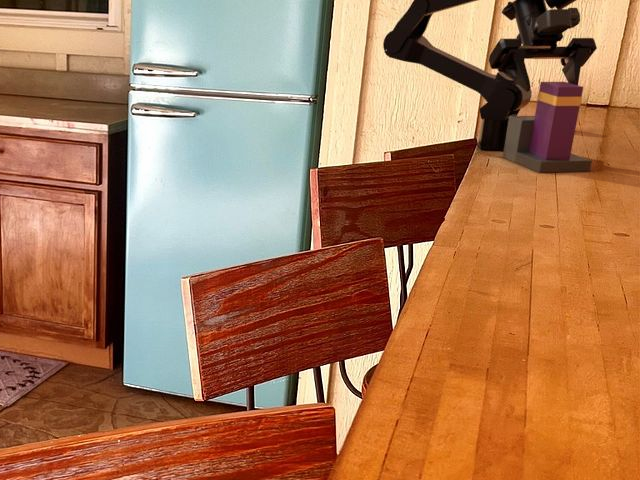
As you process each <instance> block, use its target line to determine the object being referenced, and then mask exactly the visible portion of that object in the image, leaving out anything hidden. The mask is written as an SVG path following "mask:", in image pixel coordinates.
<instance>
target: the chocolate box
mask: <svg viewBox="0 0 640 480" xmlns="http://www.w3.org/2000/svg"><path fill="white" fill-rule="evenodd" d="M583 92H584V86H581V85H579V84H578V85H575V84H571V83H568V81H540V83H539V90H538V92H537V93H538V94H537V99H536V100H537V101H536V107H535V113H534V116H535V118H534V124H533V129H532V135H531V141H530V147H529V152H530V153H532V154H534V155H536V156H539V157H541V158H543V159H545V160H570V154H571V153H572V150H573V149H572V148H573V144H574V140H575V135H576V134H575V133H576V128H577V123H578V117H579V113H580V107H581V104H582V99H583V97H582V96H583Z"/></svg>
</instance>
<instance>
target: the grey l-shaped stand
mask: <svg viewBox="0 0 640 480" xmlns="http://www.w3.org/2000/svg"><path fill="white" fill-rule="evenodd" d="M534 118H535V115H517V116H509V121H508V127H507V133H506V139H505V146H504V150H503V153H502V158H503V159H506V160H508V161H510V162H513V163H514V164H518V165H520V166H522V167H524V168H527V169H530V170H532V171H534V172H537V173H540V174H541V173H542V174H543V173H544V174H545V173H576V172H577V173H578V172H580V173H581V172H590V171H591V167H592V161H593V160H591V159H589V158H585V157H583V156H580V155H577V154H575V153H572V152H571V154H570V160H545V159H543V158H541V157H539V156H536V155H534V154H532V153H530V152H529V147H530V141H531V135H532V129H533V124H534Z"/></svg>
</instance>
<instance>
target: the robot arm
mask: <svg viewBox="0 0 640 480" xmlns="http://www.w3.org/2000/svg"><path fill="white" fill-rule="evenodd" d="M477 1H479V0H413V1H412V2H411V4H410V6H409V7H408V9H407V10H406V11H405V13H404V14H403V15H402V16H401V18H400V19H399V20H398V21H397V22H396V24H395V25H394V28H393V29H392V30H391V31H389V32H388V33H386V35H385V36H384V39H383V42H382V43H383V44H382V48H383V50H384V54H385V55H386V56H387V57H388V58H390V59H394V60H398V61H401V62H404V63H405V62H406V63H412V64H418V65H421V66H423V67H425V68H427V69H429V70H431V71H433V72H435V73H437V74H439V75H441V76H443V77H446V78H448V79H450V80H452V81H454V82H456V83H458V84H460V85H462V86H464V87H466V88H469V89H470V90H472V91H475V92H477V93H478V94H479V95H480V96H481V97H482V98H483V99H484V100H485V101H486V103H485V104H483V105H482V106H481V107H480V108H479V115H480V120H481V121H480V129H479V135H478V141H476V143H475V144H476V146H477V147H478V148H479V150H486V151H504V146H505V139H506V133H507V127H508V121H509V116H519V113H520V111H521V109H523V108H525V107H526V106H528V104H529V103H530V101H531V99H532V89H531V88H532V87H531V81H530V77H529V73H528V70H527V66H526V63H525V60H532V59H533V60H560V64H561V66H563V67H562V69H561V71H562V73H563V75H564V77H565V79H566V82H567V83H571V84H575V85H578V86H579V82H580V75H581V70H582V69H581V68H582V67H583V66H585V65H586V63H587V62H588V60H589V59H590V58H591V56H592V55H593V54H594V53H595V52H596V50H597V49H598V47H597V43H596V40H595V39H594V38H593V37H572V38H571V40H570V41H569V42H568V44H567V45H566V46H558V42H561V41H562V40H563V38H564V35H563V34H564V32H566V31H567V30H570V29H574V28H575V27H576V26H578V25H580V22H581V14H580V11H579V9H578V7H568V6H570V5H571V4H573V3H575V2H576V1H577V0H513V1H508V2H507V4H506V6H505V7H504V8H503V9H502V10H501V14H502V15H503V16H505V17H506V18H507V19H508V20H509V21H513V20H515V22H516V25H517V28H518V34H517V36H516V38H500V39H499V40H498V41H497V43H496V45H495V46H494V48H493V49H492V51H491V52H490V54H489V57H488V63H489V67H490V69H491V70H497V73H496V74H493V73H490V72H488V71H486V70H484V69H482V68H480V67H477V66H475V65H474V64H471V63H469V62H467V61H465V60H463V59H461V58H458V57H457V56H454V55H452V54H450V53H448V52H446V51H444V50H442V49H440V48H438V47H435V46H434V45H433V44H432V43H431V42H430V41H429V40H428V39H427V38H426V37H425V36H424V34H425V33H426V30H427V28H428V25H429V23H430V20H431V18H432V16H433V15H434V14H436V13H439V12H442V11H443V12H444V11H447V10H450V9H453V8H456V7H461V6H463V5H467V4H470V3H473V2H477ZM547 6H548V7H549V9H548V8H547ZM566 7H568V8H566ZM564 8H565V9H564Z"/></svg>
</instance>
